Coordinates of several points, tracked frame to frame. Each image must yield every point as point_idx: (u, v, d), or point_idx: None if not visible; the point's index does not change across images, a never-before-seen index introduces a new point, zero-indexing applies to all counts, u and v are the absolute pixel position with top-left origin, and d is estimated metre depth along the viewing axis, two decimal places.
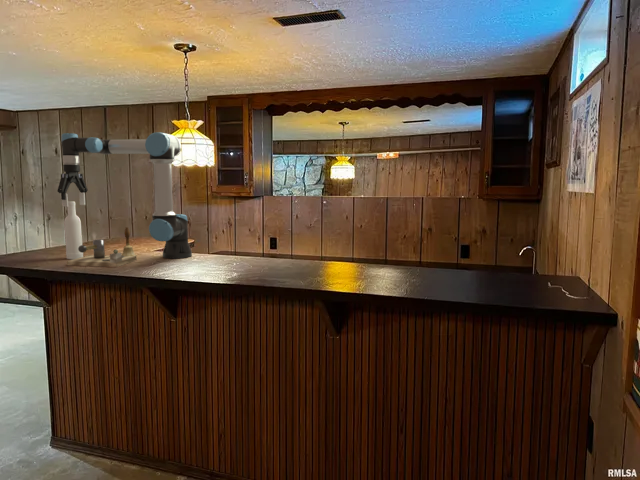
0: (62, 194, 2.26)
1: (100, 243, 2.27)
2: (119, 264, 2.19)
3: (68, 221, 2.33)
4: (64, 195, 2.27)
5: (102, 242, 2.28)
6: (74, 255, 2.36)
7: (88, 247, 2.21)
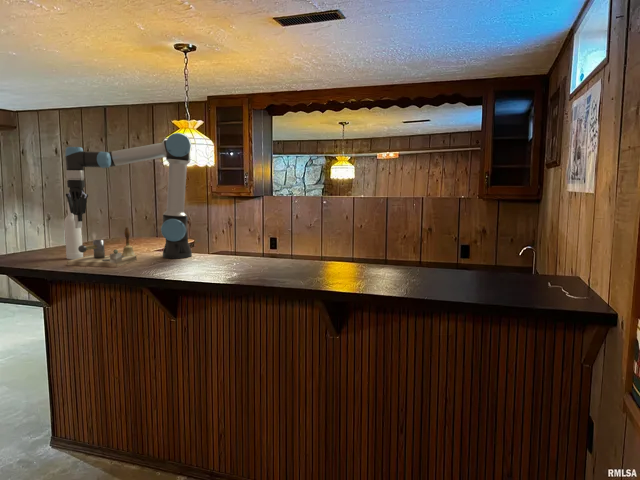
0: None
1: (100, 243, 2.27)
2: (119, 264, 2.19)
3: (68, 221, 2.33)
4: (75, 216, 2.21)
5: (102, 242, 2.28)
6: (74, 255, 2.36)
7: (88, 247, 2.21)
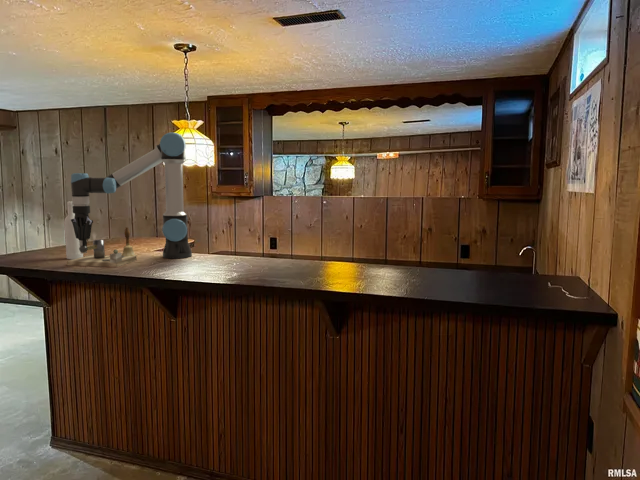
0: None
1: (100, 243, 2.27)
2: (119, 264, 2.19)
3: (68, 221, 2.33)
4: (80, 242, 2.22)
5: (102, 242, 2.28)
6: (74, 255, 2.36)
7: (89, 247, 2.21)
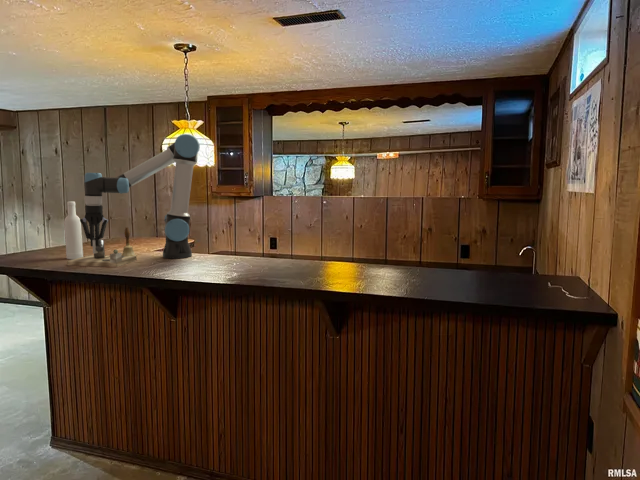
0: None
1: (103, 242, 2.28)
2: (119, 264, 2.19)
3: (68, 221, 2.33)
4: (91, 242, 2.20)
5: (103, 241, 2.30)
6: (74, 255, 2.36)
7: None
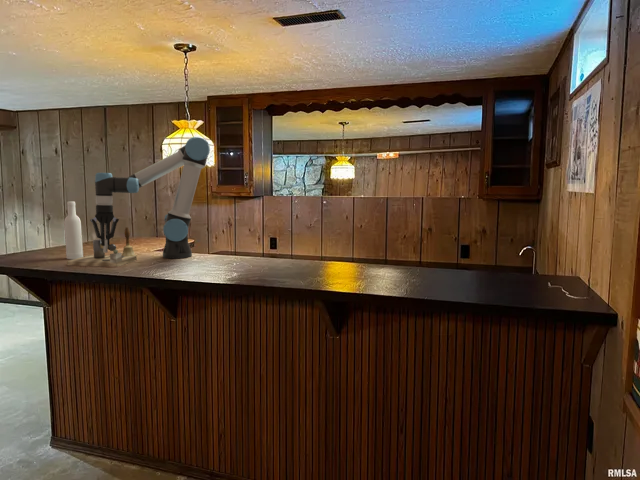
0: (101, 240, 2.22)
1: None
2: (119, 264, 2.19)
3: (68, 221, 2.33)
4: (103, 241, 2.22)
5: None
6: (74, 255, 2.36)
7: None
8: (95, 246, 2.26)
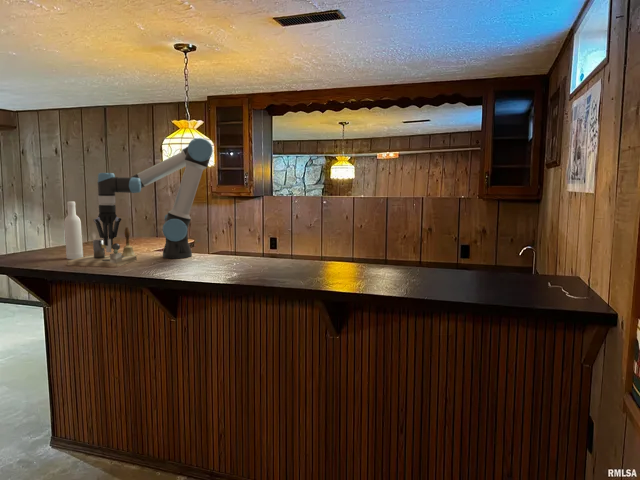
0: (104, 240, 2.23)
1: None
2: (119, 264, 2.19)
3: (68, 221, 2.33)
4: (106, 241, 2.23)
5: None
6: (74, 255, 2.36)
7: None
8: (96, 246, 2.26)
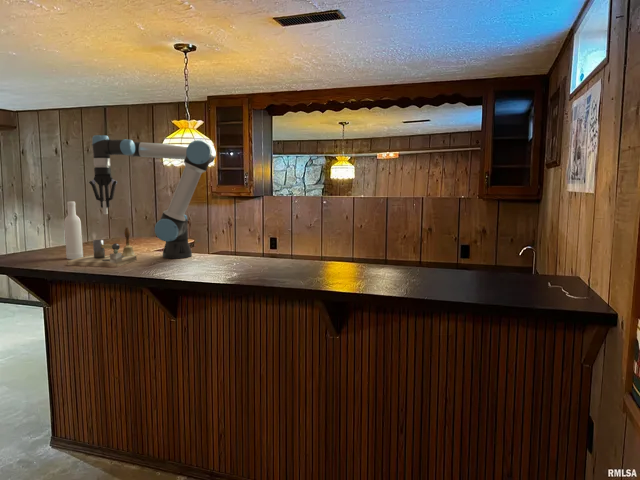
0: None
1: None
2: (119, 264, 2.19)
3: (68, 221, 2.33)
4: (101, 203, 2.28)
5: None
6: (74, 255, 2.36)
7: None
8: (96, 246, 2.26)
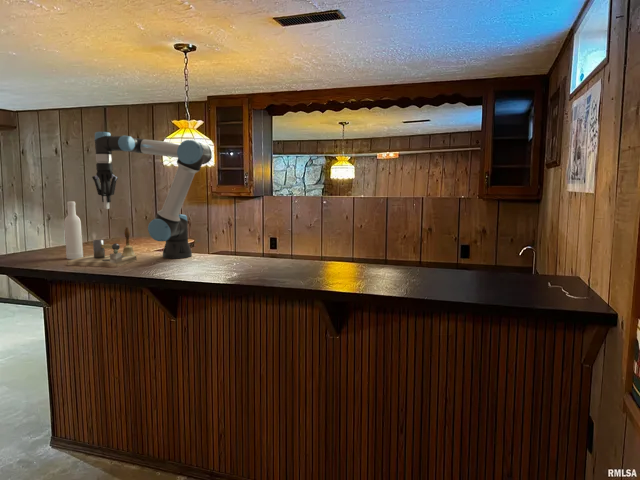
0: None
1: None
2: (119, 264, 2.19)
3: (68, 221, 2.33)
4: None
5: None
6: (74, 255, 2.36)
7: None
8: (96, 246, 2.26)
